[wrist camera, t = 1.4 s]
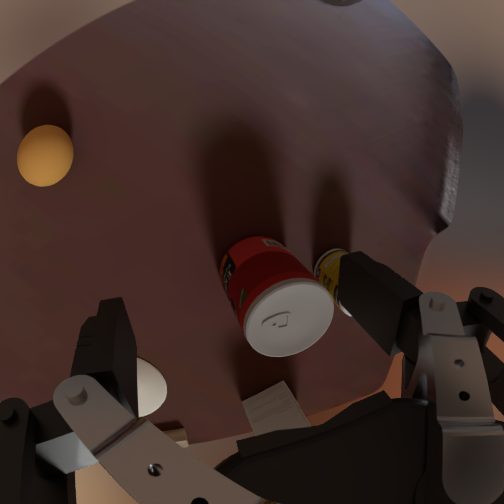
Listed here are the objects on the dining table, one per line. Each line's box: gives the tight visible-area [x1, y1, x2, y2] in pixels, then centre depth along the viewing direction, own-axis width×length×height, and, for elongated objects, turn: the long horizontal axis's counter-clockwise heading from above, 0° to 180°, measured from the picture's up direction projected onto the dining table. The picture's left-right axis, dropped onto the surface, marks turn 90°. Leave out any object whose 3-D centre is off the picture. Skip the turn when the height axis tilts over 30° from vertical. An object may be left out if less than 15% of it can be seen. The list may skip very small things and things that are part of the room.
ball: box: [17, 125, 74, 186], centre depth 22 cm, size 5×5×5 cm
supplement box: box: [242, 381, 311, 436], centre depth 40 cm, size 7×7×13 cm
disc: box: [137, 357, 167, 417], centre depth 37 cm, size 13×13×1 cm
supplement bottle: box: [314, 249, 351, 316], centre depth 34 cm, size 5×5×10 cm
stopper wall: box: [162, 428, 189, 448], centre depth 41 cm, size 2×14×2 cm, turn 91°
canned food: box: [220, 236, 334, 357], centre depth 31 cm, size 8×8×11 cm
